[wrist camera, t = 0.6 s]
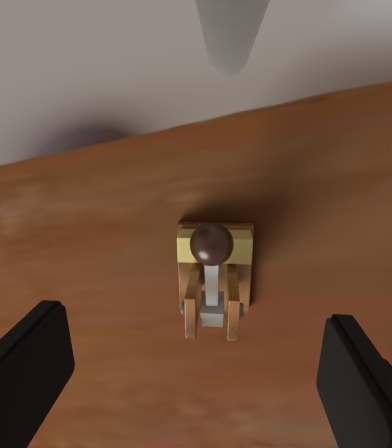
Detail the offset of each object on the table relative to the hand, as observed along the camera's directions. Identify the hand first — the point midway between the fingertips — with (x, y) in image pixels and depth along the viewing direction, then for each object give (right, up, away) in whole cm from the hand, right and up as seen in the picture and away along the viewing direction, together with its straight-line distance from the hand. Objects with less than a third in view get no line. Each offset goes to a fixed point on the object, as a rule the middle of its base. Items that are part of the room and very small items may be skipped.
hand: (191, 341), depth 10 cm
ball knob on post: (+2, 0, +15) cm, 15 cm away
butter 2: (+5, +2, +24) cm, 24 cm away
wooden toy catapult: (+3, -1, +26) cm, 27 cm away
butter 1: (0, +2, +24) cm, 24 cm away
